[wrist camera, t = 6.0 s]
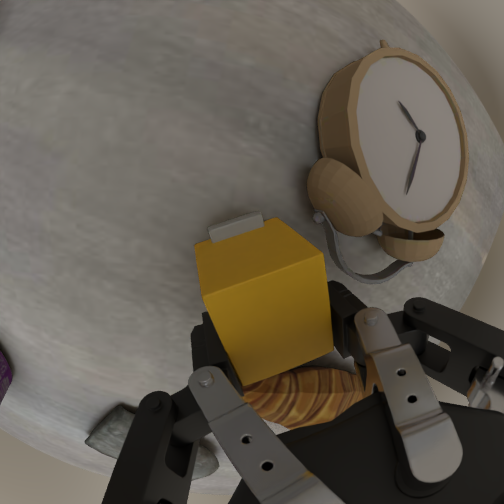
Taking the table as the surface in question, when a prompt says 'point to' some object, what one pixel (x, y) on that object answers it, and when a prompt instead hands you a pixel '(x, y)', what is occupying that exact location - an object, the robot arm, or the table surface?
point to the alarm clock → (388, 158)
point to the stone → (114, 434)
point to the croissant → (303, 395)
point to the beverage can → (4, 376)
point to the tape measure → (265, 295)
